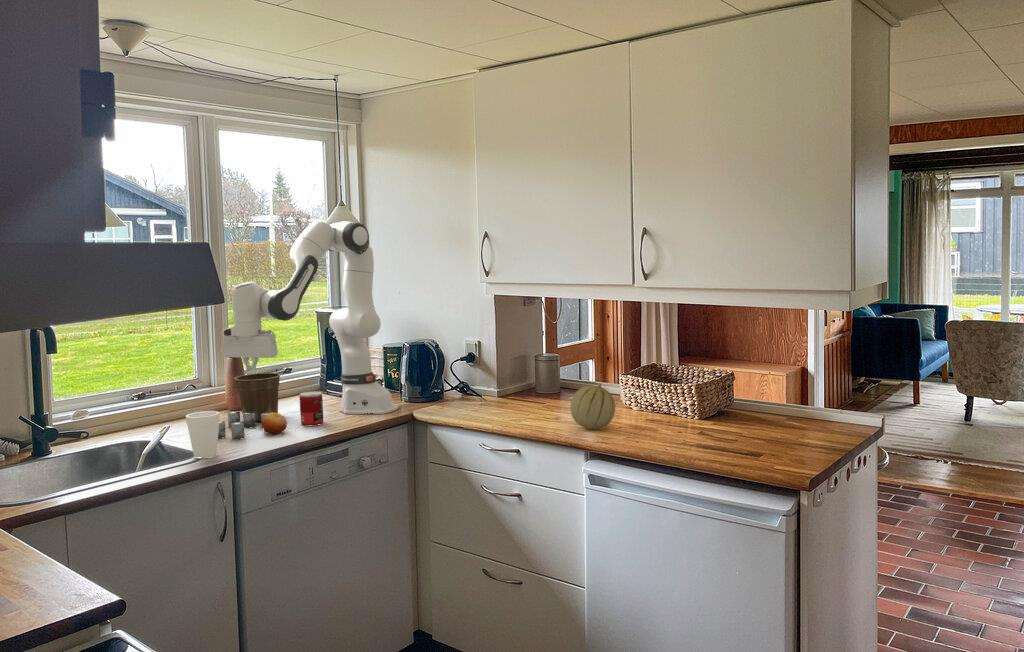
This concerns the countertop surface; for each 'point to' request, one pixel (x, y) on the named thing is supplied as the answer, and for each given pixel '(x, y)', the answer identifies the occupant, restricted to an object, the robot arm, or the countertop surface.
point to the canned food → (311, 408)
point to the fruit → (274, 423)
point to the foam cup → (203, 432)
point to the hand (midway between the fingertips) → (251, 370)
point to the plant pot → (258, 393)
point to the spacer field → (239, 423)
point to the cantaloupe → (592, 407)
